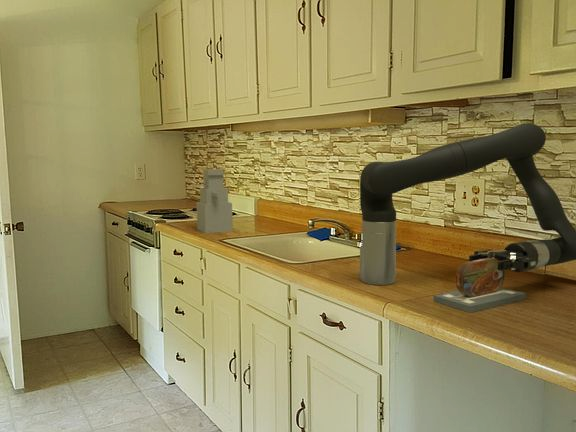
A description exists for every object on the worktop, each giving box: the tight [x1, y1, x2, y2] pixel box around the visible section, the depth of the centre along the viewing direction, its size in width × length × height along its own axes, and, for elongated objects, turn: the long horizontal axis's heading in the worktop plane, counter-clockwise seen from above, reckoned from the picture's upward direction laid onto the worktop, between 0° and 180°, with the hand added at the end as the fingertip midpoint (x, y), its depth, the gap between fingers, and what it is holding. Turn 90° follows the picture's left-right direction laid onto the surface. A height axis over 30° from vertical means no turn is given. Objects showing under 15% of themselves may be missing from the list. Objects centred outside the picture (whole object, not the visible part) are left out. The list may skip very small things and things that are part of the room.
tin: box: [455, 258, 506, 297], centre depth 132 cm, size 15×3×8 cm, turn 121°
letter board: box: [433, 286, 527, 314], centre depth 132 cm, size 11×20×2 cm, turn 121°
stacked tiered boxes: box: [196, 168, 234, 234], centre depth 250 cm, size 13×24×28 cm, turn 26°
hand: (484, 263), depth 131 cm, fingers open, 8 cm apart
